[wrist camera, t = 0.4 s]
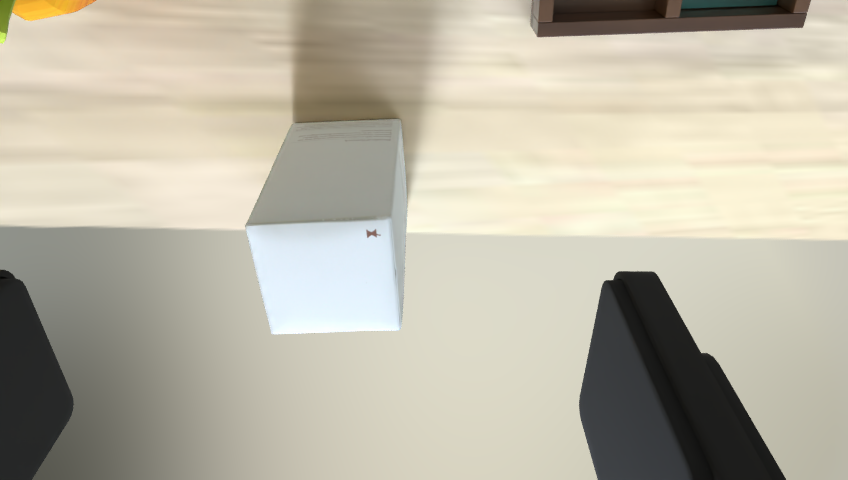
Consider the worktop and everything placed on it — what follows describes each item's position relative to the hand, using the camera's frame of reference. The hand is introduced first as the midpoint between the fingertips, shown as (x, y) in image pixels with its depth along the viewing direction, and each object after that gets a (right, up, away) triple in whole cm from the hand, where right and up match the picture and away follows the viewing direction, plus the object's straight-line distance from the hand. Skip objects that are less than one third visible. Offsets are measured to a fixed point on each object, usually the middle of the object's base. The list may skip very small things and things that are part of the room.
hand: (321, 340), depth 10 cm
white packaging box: (-3, +7, +32) cm, 32 cm away
